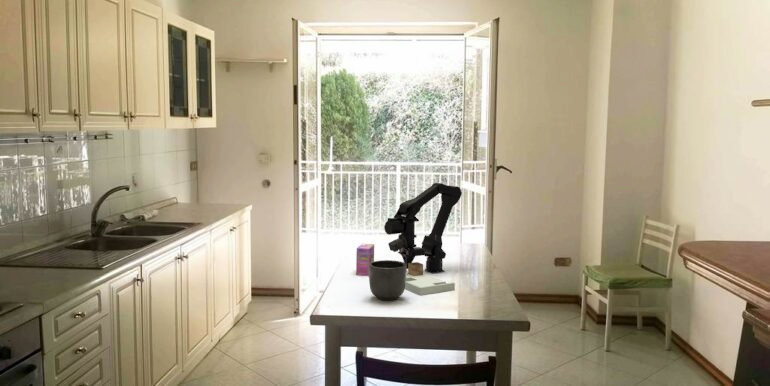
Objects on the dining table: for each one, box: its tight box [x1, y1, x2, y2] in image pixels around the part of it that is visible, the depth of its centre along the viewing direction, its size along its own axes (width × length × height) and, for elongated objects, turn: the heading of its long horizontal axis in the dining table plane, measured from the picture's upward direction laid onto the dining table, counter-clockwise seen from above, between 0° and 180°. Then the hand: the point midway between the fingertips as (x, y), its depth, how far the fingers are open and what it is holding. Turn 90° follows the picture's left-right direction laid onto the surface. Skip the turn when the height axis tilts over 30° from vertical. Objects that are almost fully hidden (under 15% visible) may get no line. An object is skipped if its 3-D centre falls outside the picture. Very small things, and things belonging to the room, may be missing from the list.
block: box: [407, 261, 424, 276], centre depth 256 cm, size 4×4×4 cm
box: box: [355, 243, 375, 277], centre depth 266 cm, size 10×6×12 cm, turn 168°
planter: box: [368, 259, 408, 302], centre depth 226 cm, size 14×14×13 cm
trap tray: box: [405, 272, 456, 296], centre depth 246 cm, size 16×25×3 cm, turn 30°
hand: (407, 268), depth 261 cm, fingers closed
